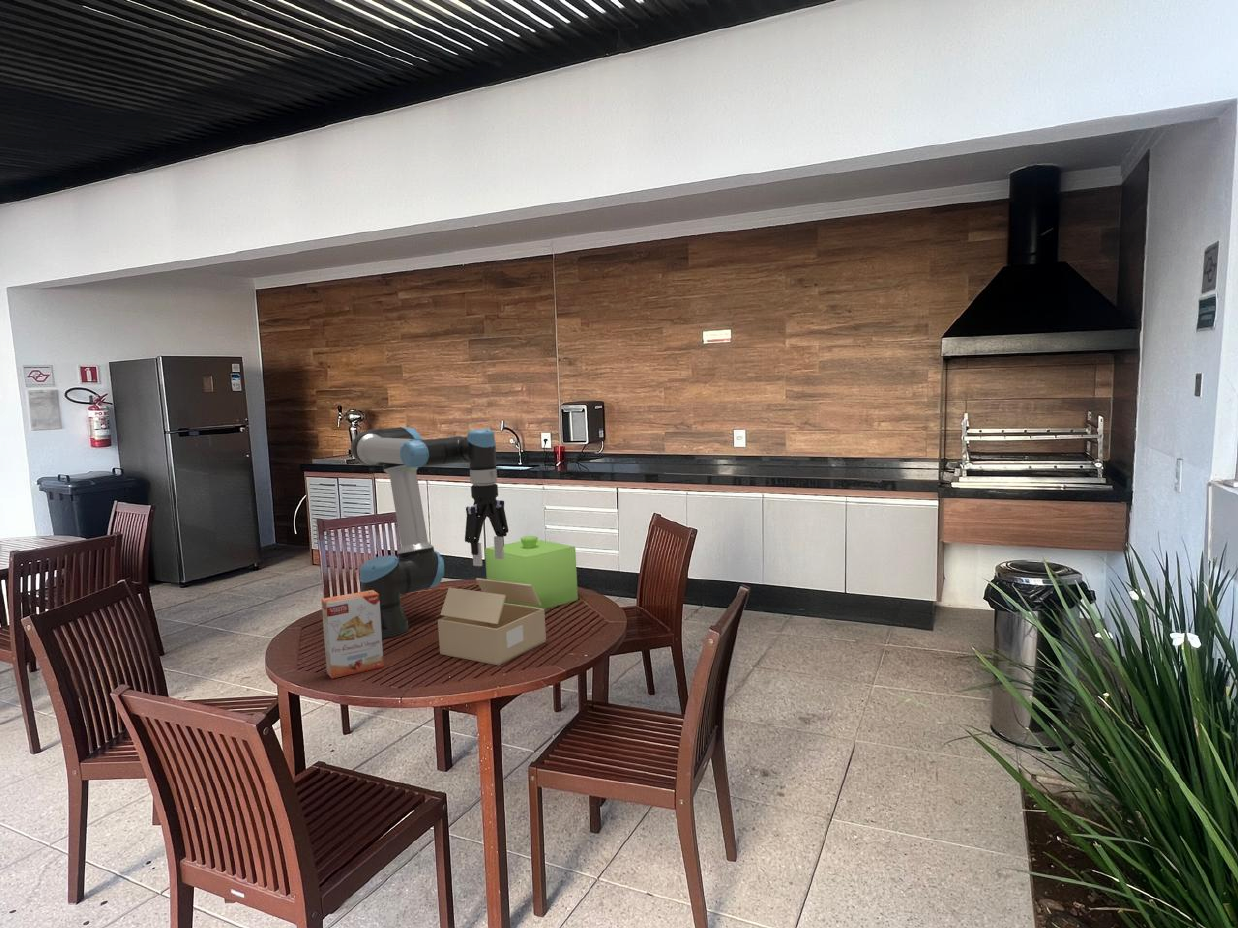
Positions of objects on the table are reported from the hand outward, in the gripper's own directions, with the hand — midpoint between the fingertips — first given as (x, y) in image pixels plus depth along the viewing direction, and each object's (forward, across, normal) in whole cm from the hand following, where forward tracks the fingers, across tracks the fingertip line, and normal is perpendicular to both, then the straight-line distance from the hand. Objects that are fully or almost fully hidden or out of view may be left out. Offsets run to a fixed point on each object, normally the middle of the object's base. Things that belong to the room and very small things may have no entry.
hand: (488, 561), depth 212 cm
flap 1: (+15, -10, 0) cm, 18 cm away
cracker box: (+26, -30, +23) cm, 46 cm away
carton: (+25, 0, 0) cm, 25 cm away
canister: (+26, +45, +21) cm, 56 cm away
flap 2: (+15, +10, 0) cm, 18 cm away
